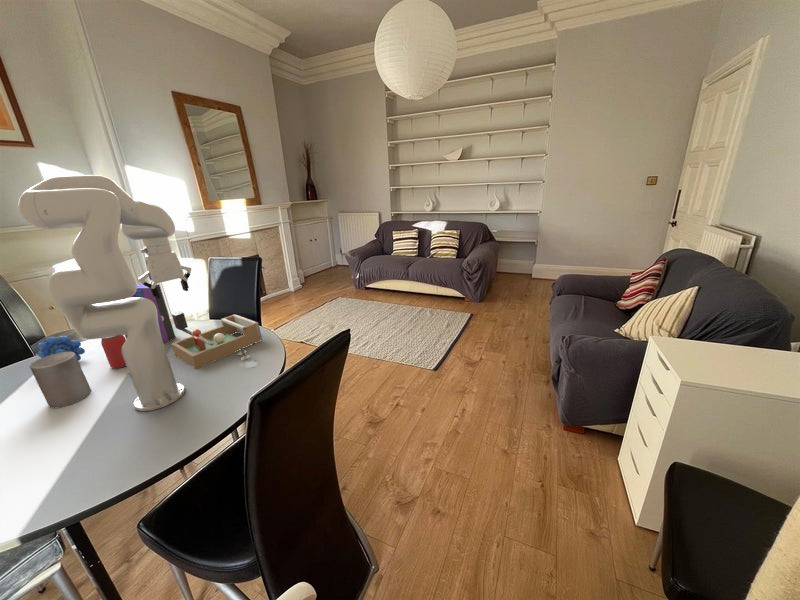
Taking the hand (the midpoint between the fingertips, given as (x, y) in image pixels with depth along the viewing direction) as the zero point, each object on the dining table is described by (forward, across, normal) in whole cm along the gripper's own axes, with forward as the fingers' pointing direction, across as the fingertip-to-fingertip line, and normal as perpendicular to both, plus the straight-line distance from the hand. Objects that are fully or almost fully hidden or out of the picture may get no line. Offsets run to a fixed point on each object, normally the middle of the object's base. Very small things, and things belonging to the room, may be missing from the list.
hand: (172, 294), depth 125 cm
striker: (+19, 0, -12) cm, 23 cm away
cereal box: (+22, -6, +19) cm, 30 cm away
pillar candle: (+22, -36, -8) cm, 43 cm away
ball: (+18, +7, -14) cm, 24 cm away
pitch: (+22, +7, -15) cm, 27 cm away
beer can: (+22, -20, +4) cm, 30 cm away
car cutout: (+22, +6, -34) cm, 41 cm away
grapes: (+22, -32, +22) cm, 45 cm away
